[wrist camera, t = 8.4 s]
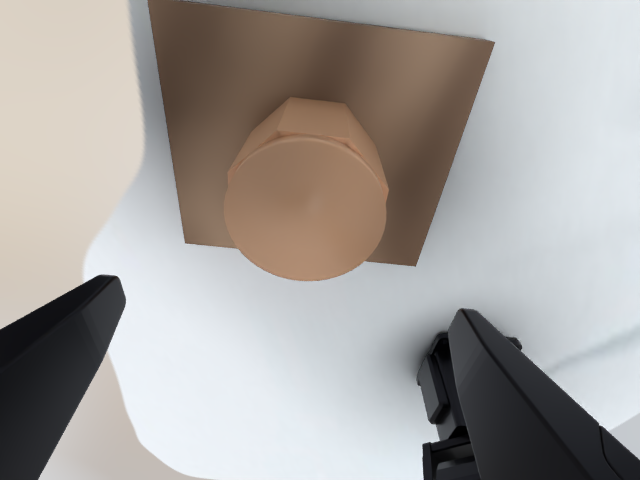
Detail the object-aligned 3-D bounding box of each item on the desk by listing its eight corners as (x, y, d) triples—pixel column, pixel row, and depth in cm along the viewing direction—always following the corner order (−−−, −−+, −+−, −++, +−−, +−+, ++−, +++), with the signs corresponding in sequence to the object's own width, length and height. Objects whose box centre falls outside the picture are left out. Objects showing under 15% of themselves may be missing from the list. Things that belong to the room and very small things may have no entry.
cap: (383, 107, 15) (404, 152, 11) (360, 219, 19) (369, 287, 14) (251, 92, 15) (218, 131, 11) (252, 207, 19) (227, 273, 14)
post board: (486, 39, 15) (547, 56, 11) (412, 256, 22) (431, 317, 18) (157, -3, 14) (85, -3, 10) (190, 233, 21) (156, 291, 17)
